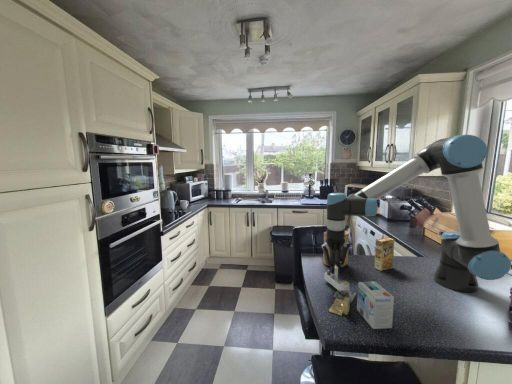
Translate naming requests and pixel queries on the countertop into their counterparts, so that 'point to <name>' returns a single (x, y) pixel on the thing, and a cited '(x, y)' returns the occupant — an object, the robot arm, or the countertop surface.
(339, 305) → the keeper
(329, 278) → the latch bar
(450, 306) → the countertop surface
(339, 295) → the plate
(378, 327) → the light bulb box
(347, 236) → the container
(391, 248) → the candy box
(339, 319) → the countertop surface
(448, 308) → the countertop surface
